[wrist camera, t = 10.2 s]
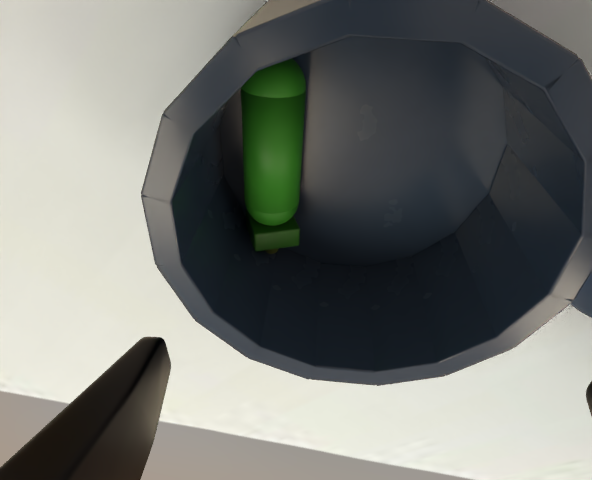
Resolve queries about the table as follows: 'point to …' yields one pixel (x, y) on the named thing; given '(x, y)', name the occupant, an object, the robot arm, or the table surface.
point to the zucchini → (273, 154)
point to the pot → (384, 190)
